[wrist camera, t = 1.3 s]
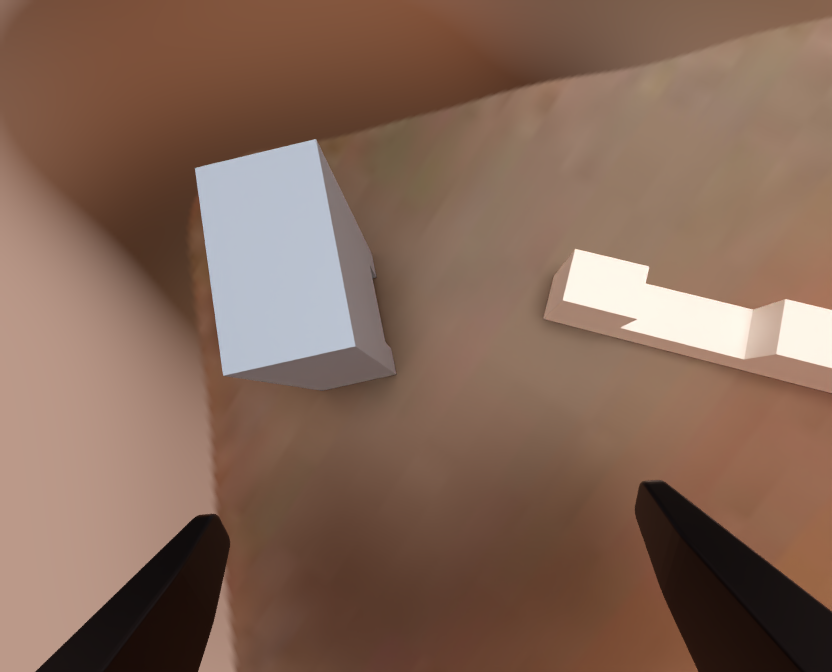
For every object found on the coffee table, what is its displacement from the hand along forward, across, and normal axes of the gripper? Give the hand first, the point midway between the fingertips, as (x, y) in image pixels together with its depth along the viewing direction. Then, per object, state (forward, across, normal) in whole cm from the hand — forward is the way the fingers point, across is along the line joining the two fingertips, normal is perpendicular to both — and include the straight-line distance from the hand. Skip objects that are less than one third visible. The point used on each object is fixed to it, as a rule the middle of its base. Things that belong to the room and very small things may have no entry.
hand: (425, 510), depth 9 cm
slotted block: (+15, +4, +3) cm, 16 cm away
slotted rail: (+13, -16, +5) cm, 21 cm away
